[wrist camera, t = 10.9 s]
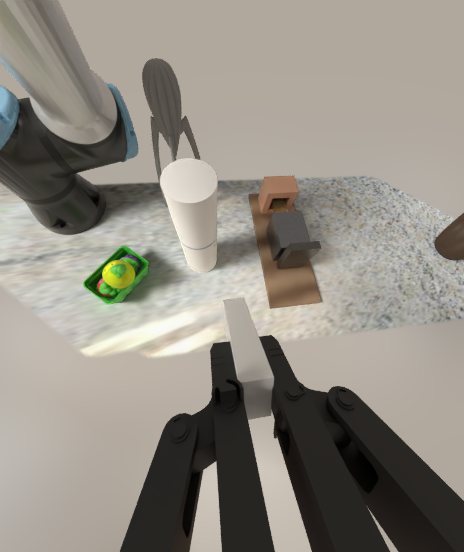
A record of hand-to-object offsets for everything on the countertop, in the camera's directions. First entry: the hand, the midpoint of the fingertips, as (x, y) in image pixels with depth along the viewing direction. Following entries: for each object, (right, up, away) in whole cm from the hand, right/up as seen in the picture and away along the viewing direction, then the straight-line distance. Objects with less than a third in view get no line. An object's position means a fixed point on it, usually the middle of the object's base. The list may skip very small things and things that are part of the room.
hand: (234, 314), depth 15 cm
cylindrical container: (-7, +7, +34) cm, 35 cm away
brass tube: (+12, +14, +36) cm, 40 cm away
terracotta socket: (+11, +22, +40) cm, 47 cm away
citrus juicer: (-11, +20, +39) cm, 45 cm away
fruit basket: (-24, +1, +31) cm, 39 cm away
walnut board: (+12, +12, +37) cm, 41 cm away
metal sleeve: (+13, +12, +36) cm, 40 cm away
